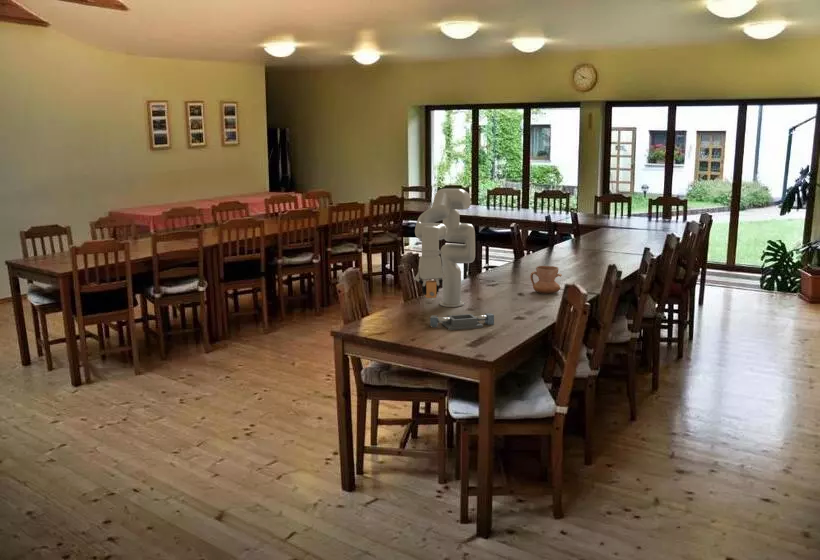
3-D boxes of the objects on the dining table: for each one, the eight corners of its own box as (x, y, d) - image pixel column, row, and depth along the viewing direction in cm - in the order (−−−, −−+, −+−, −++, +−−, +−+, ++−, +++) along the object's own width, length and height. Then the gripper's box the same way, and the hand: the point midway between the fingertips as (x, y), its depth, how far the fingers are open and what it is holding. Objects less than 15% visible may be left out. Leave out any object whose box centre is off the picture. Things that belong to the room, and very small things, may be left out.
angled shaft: (450, 325, 328) (450, 316, 327) (449, 327, 325) (449, 318, 324) (431, 324, 330) (431, 315, 329) (430, 327, 326) (430, 317, 325)
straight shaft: (475, 325, 327) (475, 316, 326) (472, 323, 331) (472, 314, 330) (493, 324, 330) (494, 315, 329) (490, 322, 333) (490, 312, 333)
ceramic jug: (565, 291, 394) (566, 266, 391) (556, 297, 382) (557, 271, 379) (535, 288, 403) (536, 263, 400) (525, 293, 391) (525, 267, 388)
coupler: (427, 299, 313) (427, 283, 311) (423, 295, 320) (423, 279, 319) (437, 298, 314) (437, 282, 312) (433, 294, 321) (433, 279, 320)
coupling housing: (442, 324, 331) (442, 315, 330) (474, 321, 335) (474, 312, 334) (449, 330, 321) (449, 321, 320) (482, 327, 325) (482, 318, 324)
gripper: (447, 251, 318) (446, 291, 322) (409, 253, 315) (410, 293, 319) (451, 254, 311) (450, 295, 315) (413, 255, 308) (413, 297, 312)
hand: (430, 293), depth 317 cm, fingers closed on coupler, 4 cm apart
